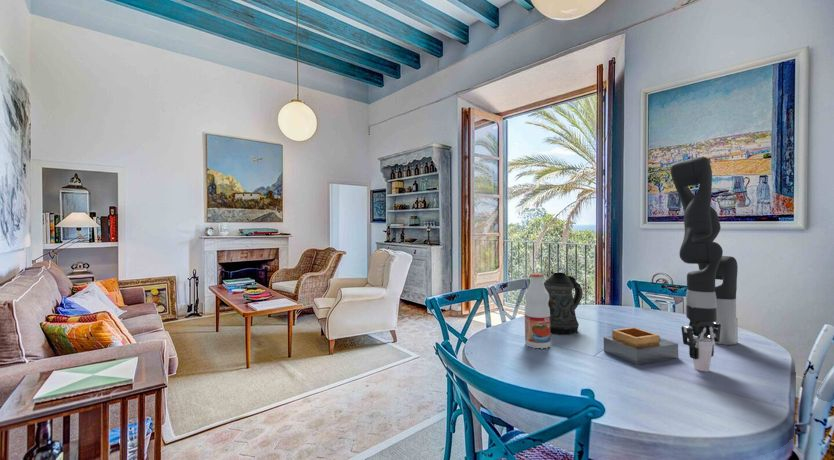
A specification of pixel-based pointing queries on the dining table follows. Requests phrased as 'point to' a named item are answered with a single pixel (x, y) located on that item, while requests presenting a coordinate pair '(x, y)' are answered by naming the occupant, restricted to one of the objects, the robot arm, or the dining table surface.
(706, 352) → the smoothie
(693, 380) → the dining table surface
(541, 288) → the fruit juice
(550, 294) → the beer stein
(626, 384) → the dining table surface
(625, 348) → the grey flat boxy piece
